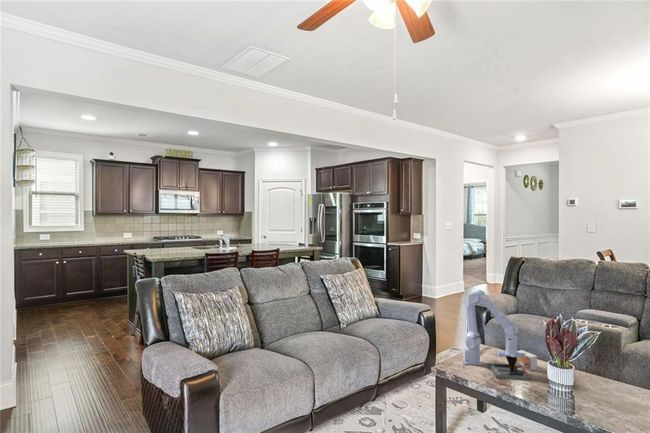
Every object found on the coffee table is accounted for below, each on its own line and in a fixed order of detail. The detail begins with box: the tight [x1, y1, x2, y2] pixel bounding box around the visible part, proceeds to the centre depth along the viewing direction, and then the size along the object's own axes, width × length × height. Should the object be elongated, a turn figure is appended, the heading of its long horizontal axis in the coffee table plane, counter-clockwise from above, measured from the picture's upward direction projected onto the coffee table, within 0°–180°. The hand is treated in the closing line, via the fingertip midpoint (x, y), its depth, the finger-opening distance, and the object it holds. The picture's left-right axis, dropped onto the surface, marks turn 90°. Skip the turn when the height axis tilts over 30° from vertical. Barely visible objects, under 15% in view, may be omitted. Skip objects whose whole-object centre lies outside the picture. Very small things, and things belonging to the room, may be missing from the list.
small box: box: [516, 349, 538, 371], centre depth 220 cm, size 8×6×10 cm
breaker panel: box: [488, 362, 532, 381], centre depth 212 cm, size 18×16×5 cm
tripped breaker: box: [513, 364, 520, 372], centre depth 211 cm, size 3×2×4 cm
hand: (511, 369), depth 212 cm, fingers closed
